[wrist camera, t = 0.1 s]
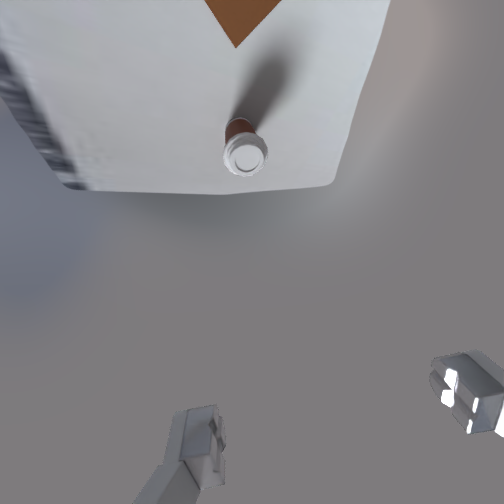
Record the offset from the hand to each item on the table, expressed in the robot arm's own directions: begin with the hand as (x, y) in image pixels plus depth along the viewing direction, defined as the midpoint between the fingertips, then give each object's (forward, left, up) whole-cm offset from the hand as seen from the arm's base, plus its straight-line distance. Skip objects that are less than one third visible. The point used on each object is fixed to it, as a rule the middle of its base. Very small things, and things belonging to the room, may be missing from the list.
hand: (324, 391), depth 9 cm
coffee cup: (+15, -7, -54) cm, 57 cm away
